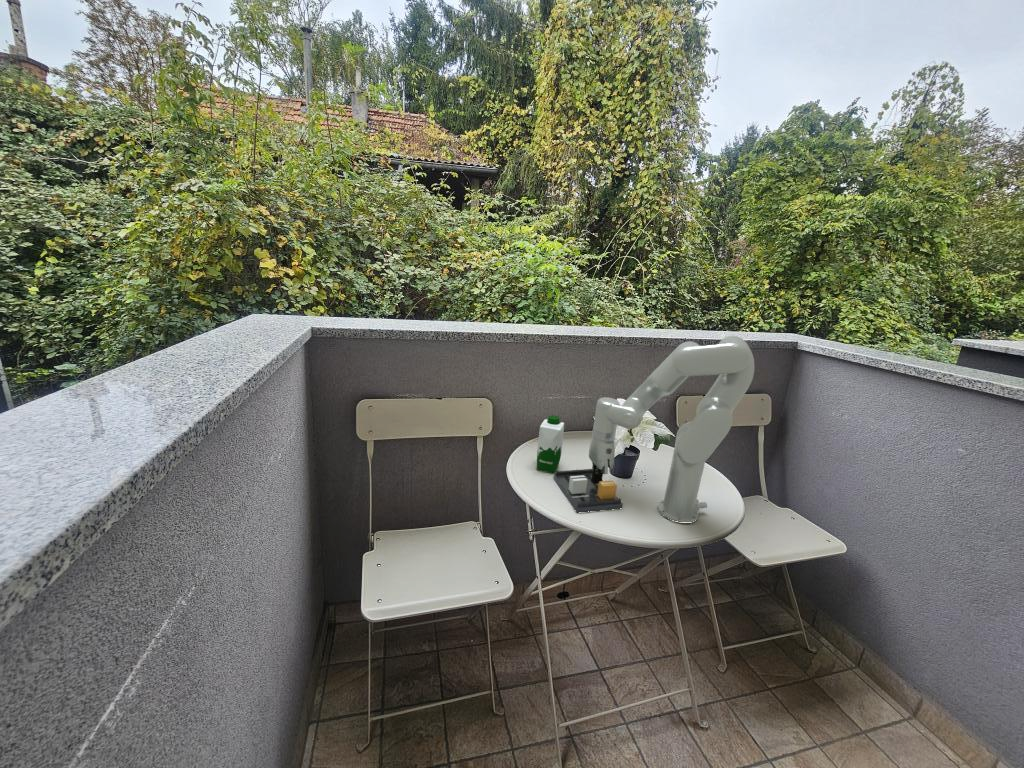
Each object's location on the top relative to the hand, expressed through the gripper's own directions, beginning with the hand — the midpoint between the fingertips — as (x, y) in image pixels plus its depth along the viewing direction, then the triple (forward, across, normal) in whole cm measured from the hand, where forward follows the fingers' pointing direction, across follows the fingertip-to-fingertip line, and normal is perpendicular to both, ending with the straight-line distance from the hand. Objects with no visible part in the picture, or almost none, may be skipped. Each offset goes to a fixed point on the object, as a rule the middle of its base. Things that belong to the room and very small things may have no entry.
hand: (596, 482), depth 154 cm
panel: (+4, -1, +4) cm, 5 cm away
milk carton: (+4, +18, +11) cm, 22 cm away
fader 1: (+1, -3, +8) cm, 9 cm away
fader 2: (+1, -7, 0) cm, 7 cm away
